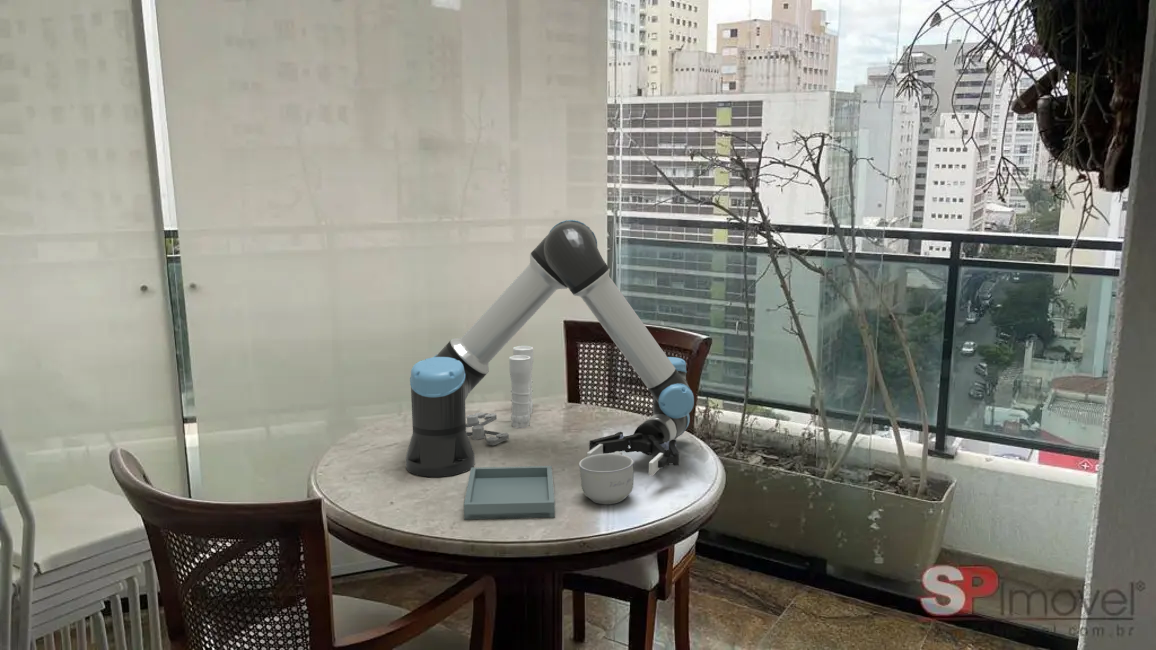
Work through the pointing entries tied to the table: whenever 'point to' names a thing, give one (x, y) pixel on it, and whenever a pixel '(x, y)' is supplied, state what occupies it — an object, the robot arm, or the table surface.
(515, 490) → the tray
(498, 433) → the pulley system
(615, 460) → the teacup
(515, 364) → the binoculars
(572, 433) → the table surface
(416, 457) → the robot arm
